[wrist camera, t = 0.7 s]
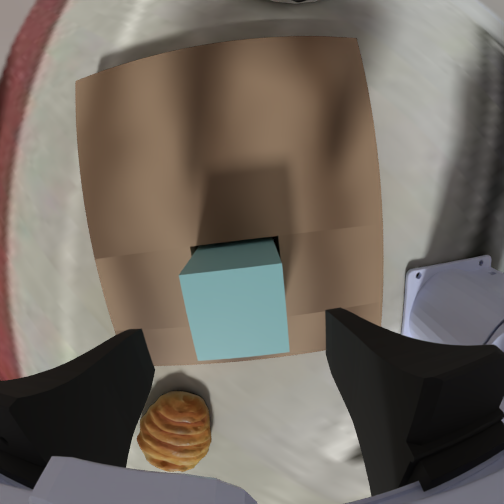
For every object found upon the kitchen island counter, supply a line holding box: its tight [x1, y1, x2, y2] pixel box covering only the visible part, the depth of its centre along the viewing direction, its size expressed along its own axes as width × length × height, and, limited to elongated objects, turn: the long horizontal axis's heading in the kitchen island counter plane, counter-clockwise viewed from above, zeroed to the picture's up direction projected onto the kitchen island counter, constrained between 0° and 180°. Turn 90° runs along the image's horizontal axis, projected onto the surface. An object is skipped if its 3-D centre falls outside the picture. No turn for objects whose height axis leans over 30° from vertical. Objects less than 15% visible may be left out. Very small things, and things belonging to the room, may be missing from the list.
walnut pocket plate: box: [76, 36, 383, 366], centre depth 18 cm, size 18×20×2 cm
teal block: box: [179, 237, 290, 361], centre depth 17 cm, size 4×4×7 cm
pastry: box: [137, 391, 211, 472], centre depth 22 cm, size 9×7×4 cm
